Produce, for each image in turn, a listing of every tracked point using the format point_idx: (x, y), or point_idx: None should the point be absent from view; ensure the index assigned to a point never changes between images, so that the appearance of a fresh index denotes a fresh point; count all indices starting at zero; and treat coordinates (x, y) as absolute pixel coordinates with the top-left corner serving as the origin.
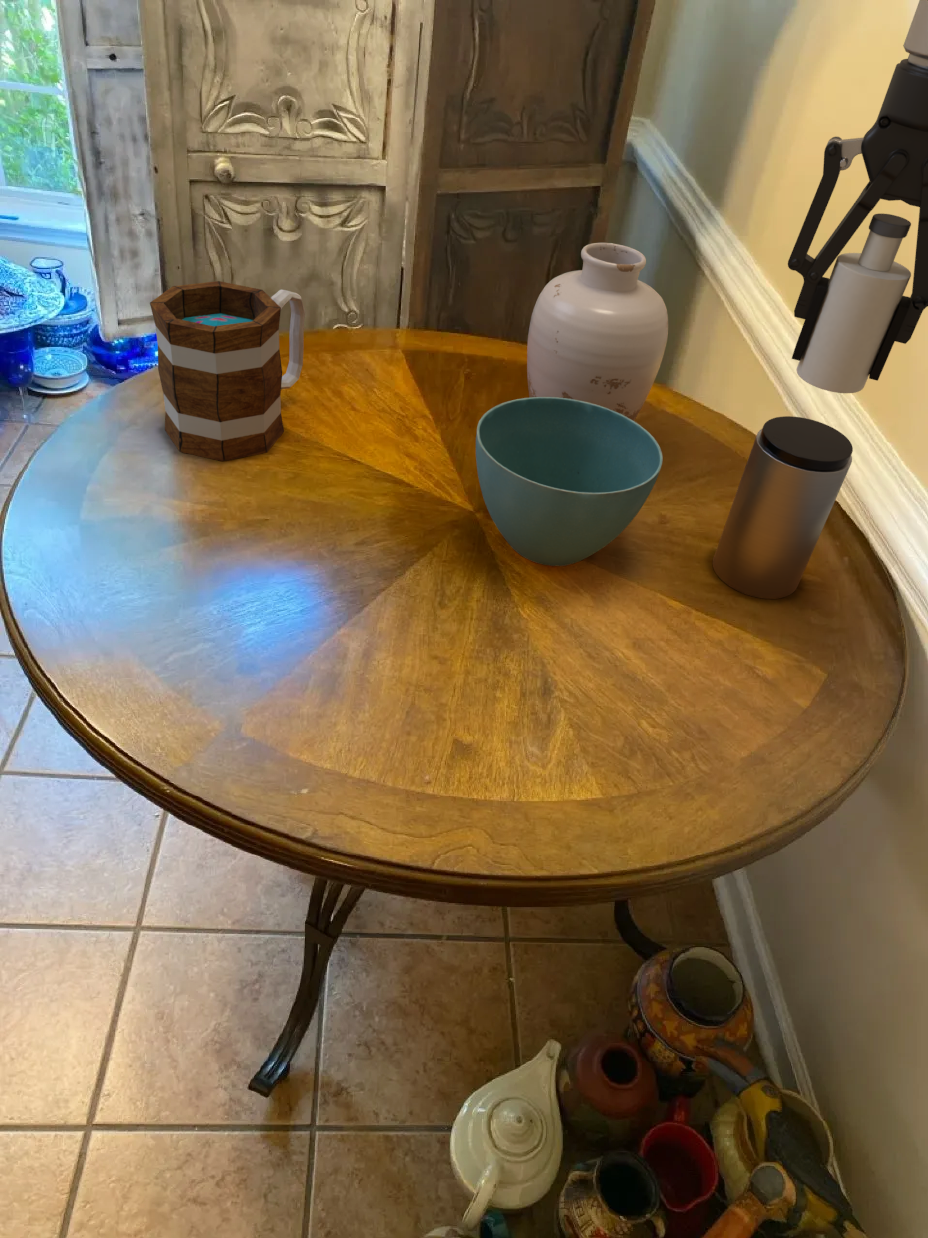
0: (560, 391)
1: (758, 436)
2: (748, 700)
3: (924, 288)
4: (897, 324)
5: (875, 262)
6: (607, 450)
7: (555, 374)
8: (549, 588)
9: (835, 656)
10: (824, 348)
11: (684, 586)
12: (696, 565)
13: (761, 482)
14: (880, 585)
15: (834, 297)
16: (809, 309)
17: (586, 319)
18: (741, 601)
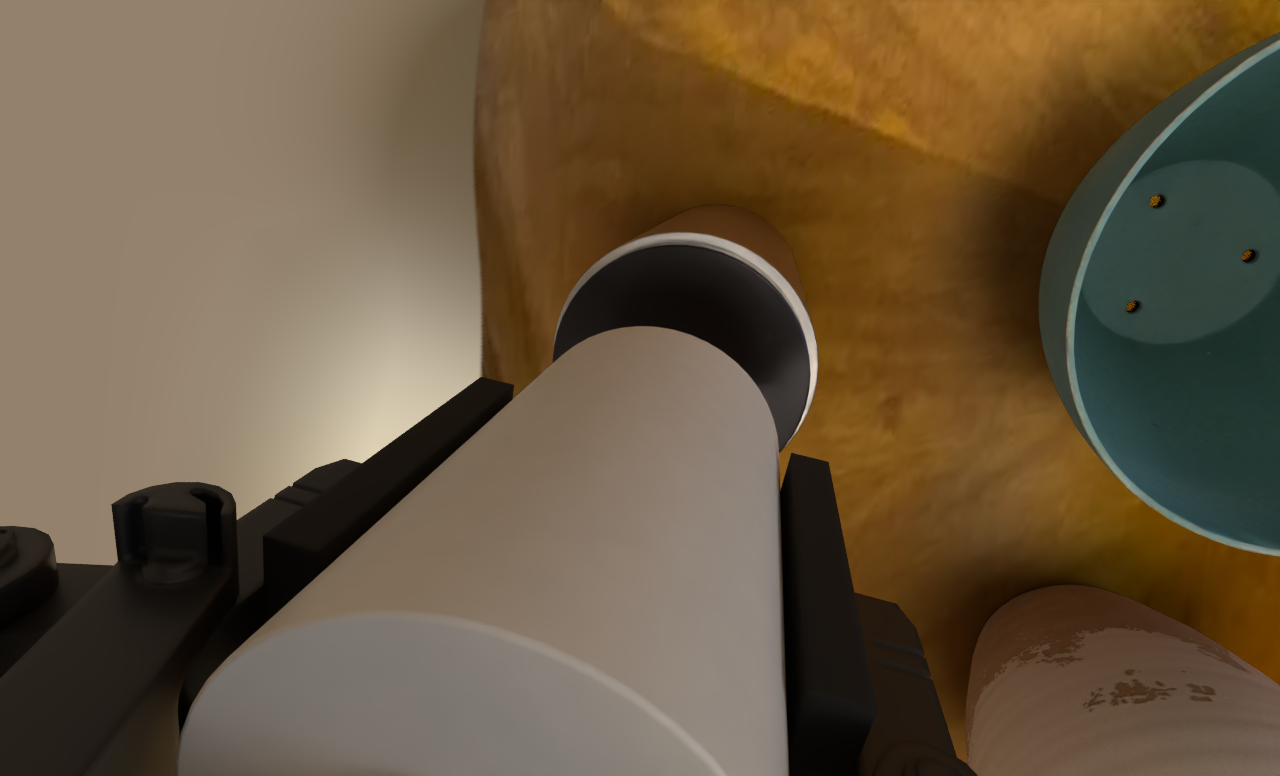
0: (1257, 675)
1: (810, 386)
2: None
3: (96, 622)
4: (359, 483)
5: None
6: (1128, 455)
7: None
8: (1189, 81)
9: (582, 67)
10: (725, 413)
11: (864, 194)
12: (832, 275)
13: (784, 266)
14: (489, 319)
15: (750, 599)
16: (854, 595)
17: None
18: (749, 182)
